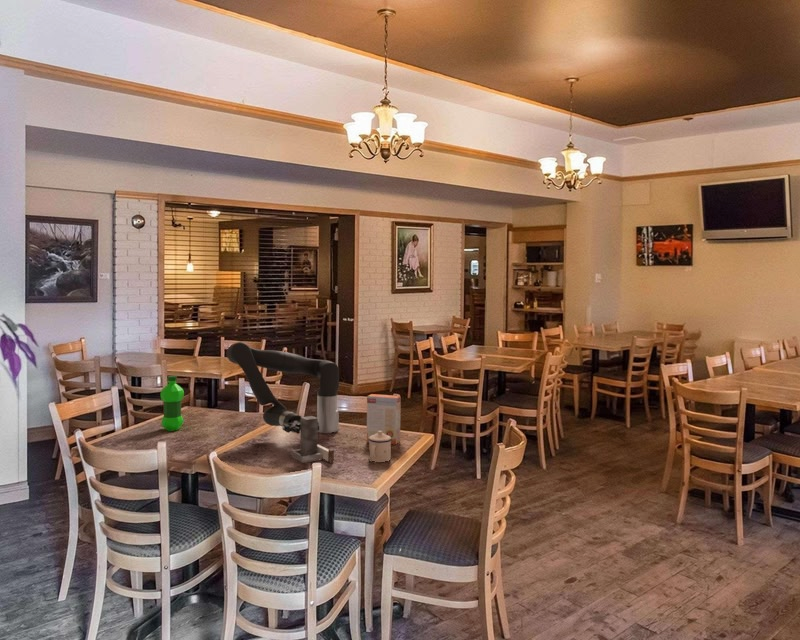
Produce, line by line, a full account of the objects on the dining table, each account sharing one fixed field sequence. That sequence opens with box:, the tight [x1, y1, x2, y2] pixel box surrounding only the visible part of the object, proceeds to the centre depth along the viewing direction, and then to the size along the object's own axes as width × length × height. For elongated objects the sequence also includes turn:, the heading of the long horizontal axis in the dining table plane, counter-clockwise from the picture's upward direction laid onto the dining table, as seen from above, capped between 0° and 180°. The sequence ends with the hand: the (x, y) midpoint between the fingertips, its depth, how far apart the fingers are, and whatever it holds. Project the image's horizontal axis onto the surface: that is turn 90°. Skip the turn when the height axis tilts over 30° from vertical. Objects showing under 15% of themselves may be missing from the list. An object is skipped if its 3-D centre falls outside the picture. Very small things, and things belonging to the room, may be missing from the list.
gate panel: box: [317, 443, 330, 462], centre depth 251 cm, size 18×2×4 cm, turn 35°
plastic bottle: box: [160, 375, 185, 432], centre depth 289 cm, size 10×10×25 cm
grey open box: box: [290, 448, 335, 464], centre depth 248 cm, size 11×21×5 cm, turn 35°
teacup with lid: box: [368, 431, 392, 463], centre depth 246 cm, size 12×9×12 cm
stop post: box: [299, 415, 319, 456], centre depth 248 cm, size 5×5×16 cm
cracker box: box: [366, 393, 402, 445], centre depth 273 cm, size 14×6×21 cm, turn 71°
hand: (308, 429), depth 249 cm, fingers open, 8 cm apart
